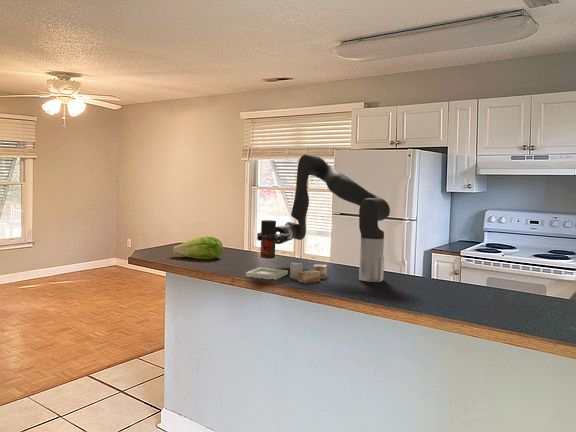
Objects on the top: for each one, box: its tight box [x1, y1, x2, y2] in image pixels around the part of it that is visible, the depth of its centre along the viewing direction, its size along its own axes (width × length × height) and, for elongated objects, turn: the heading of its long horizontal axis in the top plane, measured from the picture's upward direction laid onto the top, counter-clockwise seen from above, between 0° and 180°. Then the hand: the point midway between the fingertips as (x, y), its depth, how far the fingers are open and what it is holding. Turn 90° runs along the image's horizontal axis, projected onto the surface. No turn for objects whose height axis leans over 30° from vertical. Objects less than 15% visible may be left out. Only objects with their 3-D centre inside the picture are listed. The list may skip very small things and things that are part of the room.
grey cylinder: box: [289, 262, 304, 280], centre depth 195 cm, size 5×5×6 cm
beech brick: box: [297, 269, 321, 284], centre depth 190 cm, size 4×8×4 cm, turn 129°
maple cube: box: [312, 263, 328, 280], centre depth 199 cm, size 5×5×5 cm
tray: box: [245, 267, 289, 281], centre depth 198 cm, size 13×13×2 cm
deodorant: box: [259, 219, 277, 260], centre depth 198 cm, size 6×6×15 cm
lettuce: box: [172, 236, 224, 260], centre depth 238 cm, size 12×24×13 cm
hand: (265, 238), depth 195 cm, fingers closed on deodorant, 6 cm apart
